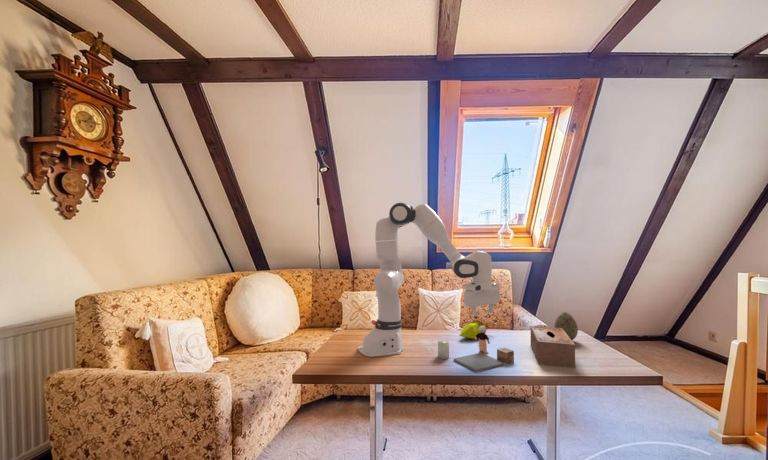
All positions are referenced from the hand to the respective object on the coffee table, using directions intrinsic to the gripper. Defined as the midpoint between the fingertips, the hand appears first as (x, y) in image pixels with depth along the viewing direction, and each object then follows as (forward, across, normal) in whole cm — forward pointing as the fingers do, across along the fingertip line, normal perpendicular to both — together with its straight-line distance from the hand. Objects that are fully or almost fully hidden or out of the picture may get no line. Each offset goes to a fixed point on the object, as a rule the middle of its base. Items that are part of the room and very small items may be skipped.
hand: (482, 314), depth 163 cm
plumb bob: (+18, -14, -20) cm, 30 cm away
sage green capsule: (+18, +20, -4) cm, 27 cm away
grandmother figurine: (+18, 0, 0) cm, 18 cm away
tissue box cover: (+19, -25, +18) cm, 36 cm away
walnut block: (+18, -1, +13) cm, 22 cm away
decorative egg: (+19, -51, +8) cm, 55 cm away
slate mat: (+18, +11, +9) cm, 23 cm away
